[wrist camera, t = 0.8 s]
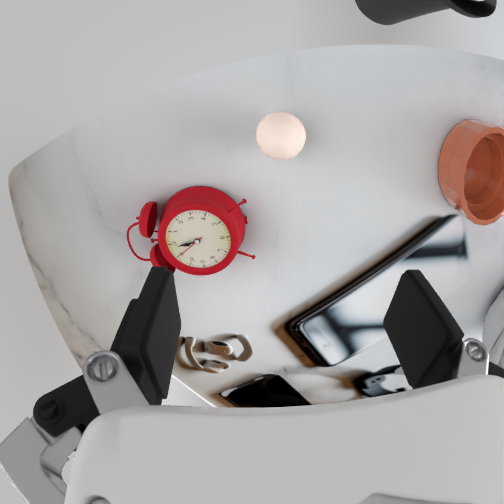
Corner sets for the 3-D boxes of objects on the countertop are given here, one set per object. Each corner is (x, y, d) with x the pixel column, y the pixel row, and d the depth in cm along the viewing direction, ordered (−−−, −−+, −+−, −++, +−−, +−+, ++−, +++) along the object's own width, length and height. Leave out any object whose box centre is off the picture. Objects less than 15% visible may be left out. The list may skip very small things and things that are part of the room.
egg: (257, 107, 27) (260, 111, 22) (302, 113, 28) (316, 118, 22) (252, 150, 30) (254, 164, 24) (296, 154, 30) (308, 171, 24)
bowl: (444, 106, 26) (471, 113, 21) (503, 132, 26) (527, 142, 22) (426, 202, 33) (447, 220, 28) (484, 212, 34) (505, 228, 29)
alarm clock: (261, 271, 34) (139, 302, 32) (248, 246, 39) (143, 273, 37) (247, 187, 28) (106, 224, 26) (235, 172, 34) (117, 204, 32)
